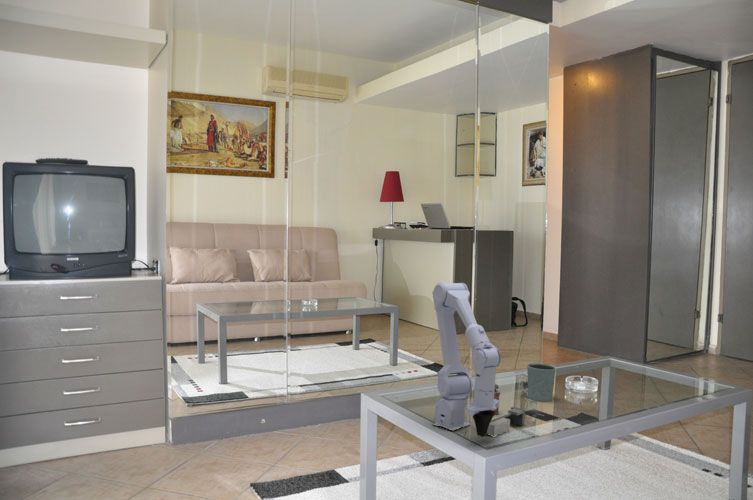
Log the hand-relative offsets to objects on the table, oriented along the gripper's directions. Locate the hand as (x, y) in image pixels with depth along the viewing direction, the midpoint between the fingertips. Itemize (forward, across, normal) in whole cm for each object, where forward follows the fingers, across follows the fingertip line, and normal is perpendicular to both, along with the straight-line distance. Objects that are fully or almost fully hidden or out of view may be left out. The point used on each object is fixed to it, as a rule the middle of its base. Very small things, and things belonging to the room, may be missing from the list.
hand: (481, 435), depth 176 cm
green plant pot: (+2, +56, +10) cm, 56 cm away
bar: (+1, +10, 0) cm, 10 cm away
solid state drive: (+2, +36, 0) cm, 36 cm away
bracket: (+1, +14, +1) cm, 14 cm away
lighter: (+2, +26, +13) cm, 30 cm away
